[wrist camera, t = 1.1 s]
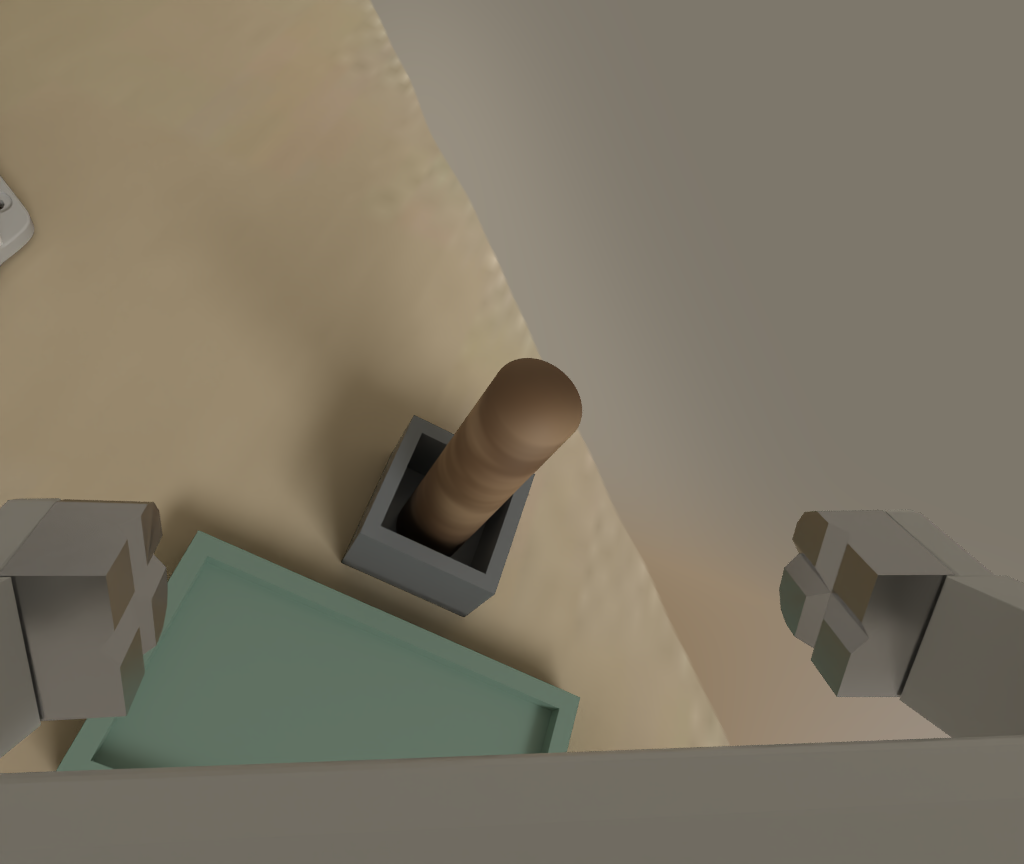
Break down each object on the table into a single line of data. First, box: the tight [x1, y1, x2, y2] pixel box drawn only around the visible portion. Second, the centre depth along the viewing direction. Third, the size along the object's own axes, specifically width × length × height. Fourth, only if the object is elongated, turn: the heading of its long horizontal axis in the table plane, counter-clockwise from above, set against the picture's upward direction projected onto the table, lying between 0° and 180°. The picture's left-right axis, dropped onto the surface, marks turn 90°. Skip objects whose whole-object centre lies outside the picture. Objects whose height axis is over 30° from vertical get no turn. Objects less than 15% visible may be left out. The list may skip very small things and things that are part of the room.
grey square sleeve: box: [341, 415, 535, 617], centre depth 44 cm, size 8×8×5 cm
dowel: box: [396, 358, 582, 557], centre depth 39 cm, size 4×4×16 cm
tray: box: [56, 530, 580, 771], centre depth 39 cm, size 22×12×2 cm, turn 72°
